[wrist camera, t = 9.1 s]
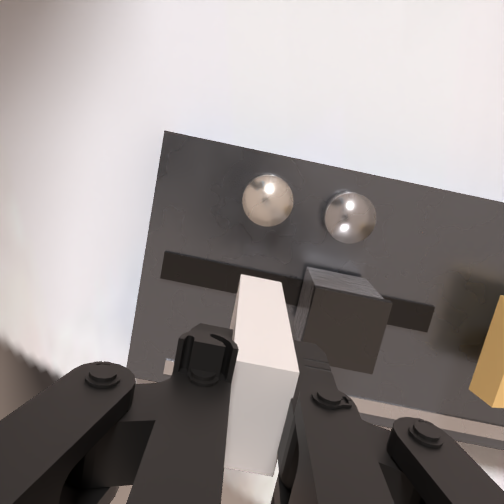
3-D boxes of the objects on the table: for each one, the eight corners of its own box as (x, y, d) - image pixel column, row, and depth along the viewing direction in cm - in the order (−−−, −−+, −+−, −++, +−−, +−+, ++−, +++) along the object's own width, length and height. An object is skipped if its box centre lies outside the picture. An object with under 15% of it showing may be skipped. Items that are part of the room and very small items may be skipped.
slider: (291, 324, 23) (298, 359, 18) (305, 264, 22) (315, 287, 18) (352, 336, 23) (372, 374, 19) (368, 277, 22) (392, 303, 18)
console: (137, 355, 26) (118, 387, 23) (174, 133, 24) (158, 129, 20) (637, 454, 27) (695, 500, 23) (726, 250, 24) (807, 266, 21)
